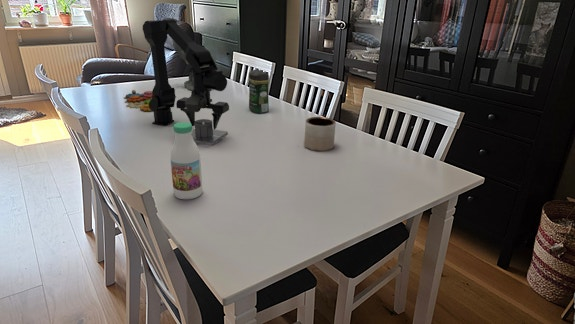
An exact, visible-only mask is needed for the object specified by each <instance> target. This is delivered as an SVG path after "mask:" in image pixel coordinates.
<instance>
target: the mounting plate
mask: <svg viewBox="0 0 575 324" xmlns="http://www.w3.org/2000/svg"><path fill="white" fill-rule="evenodd" d="M227 135H229V132H228V131H227V130H221V129H220V130H219V129H215V130H214V128H213V135H212V136H210V137H205V138H200V137H196V135H195V128H194V129H192V137H193V140H194V142H195V143H196V144H198V145H206V146H214V145H215V144H217V143H218V142H219V141H220V140H222V139H223V138H225V137H226V136H227Z"/></svg>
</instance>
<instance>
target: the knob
mask: <svg viewBox="0 0 575 324" xmlns="http://www.w3.org/2000/svg"><path fill="white" fill-rule="evenodd" d="M194 129H195V135H196V137H200V138H205V137H210V136H212V135H213V129H214V128H213V119H208V118H205V119H204V118H203V119H195V122H194Z"/></svg>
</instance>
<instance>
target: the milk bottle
mask: <svg viewBox="0 0 575 324" xmlns="http://www.w3.org/2000/svg"><path fill="white" fill-rule="evenodd" d="M172 127H173V133H174V142H173V144H172V147H171V149H170V155H169V156H170V168H171V169H170V170H171V178H172V179H171V180H172V189H173V195H174V196H175V197H176V198H177V199H181V200H193V199H195V198H199V197H200V196H201V195H202V194H203V175H202V162H201V153H200V149H199V147H198V144H197V143H195V142H194V140H193V137H192V130H193V126H192V124H191V123H190V122H187V121H181V122H177V123H174V124H173V126H172Z"/></svg>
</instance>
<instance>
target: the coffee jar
mask: <svg viewBox="0 0 575 324" xmlns="http://www.w3.org/2000/svg"><path fill="white" fill-rule="evenodd" d="M269 84H270V74H269V73H268V72H265V71H263V70H260V69H251V70H249V72H248V85H249V87H248V88H249V90H248V93H249V94H248V108H249V110H250V111H251V112H252V113H255V114H265V113H267V112H269V111H270V105H269V104H270V103H269V102H270V101H269Z"/></svg>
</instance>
